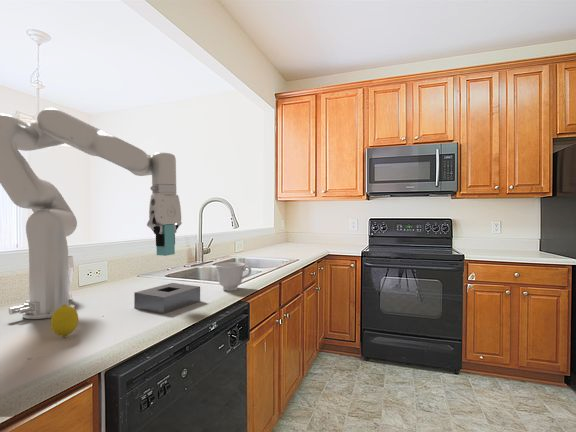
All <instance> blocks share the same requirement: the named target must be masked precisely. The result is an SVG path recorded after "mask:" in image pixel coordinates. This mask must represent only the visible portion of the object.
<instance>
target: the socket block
mask: <svg viewBox="0 0 576 432" xmlns="http://www.w3.org/2000/svg"><path fill="white" fill-rule="evenodd" d="M133 294H134V296H133V297H134V298H133V299H134V303H133V304H134V309H136V310H137V309H138V310H142V311H148V312H153V313H157V314H163V315H164V314H167V313H170V312H174V311H176V310H179V309H182V308H184V307H188V306H190V305H192V304H195V303H198V302H201V286H198V285H191V284H184V283H177V282H170V283H166V284H163V285H157V286H154V287H150V288H146V289H142V290H138V291H135V292H134V293H133Z"/></svg>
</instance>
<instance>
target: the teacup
mask: <svg viewBox="0 0 576 432" xmlns="http://www.w3.org/2000/svg"><path fill="white" fill-rule="evenodd" d="M214 266H215V267H216V272H217V279H218V284H219V285H220V286H221V287H222V290H223V291H225V290H226V291H227V292H228V291H229V292H233V290H234V291H237V290H238V287H239V286H240V285H241V283H242V281H243V279H245V278H248V277H249V276H251V274H252V268H251V266H250V265H246V263H245V262H240V261H227V262H226V261H225V262H219V263H218V262H217V263H216V264H214ZM246 269H248V273H247V274H245V275H243V274H244V272H245V271H246Z"/></svg>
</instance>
